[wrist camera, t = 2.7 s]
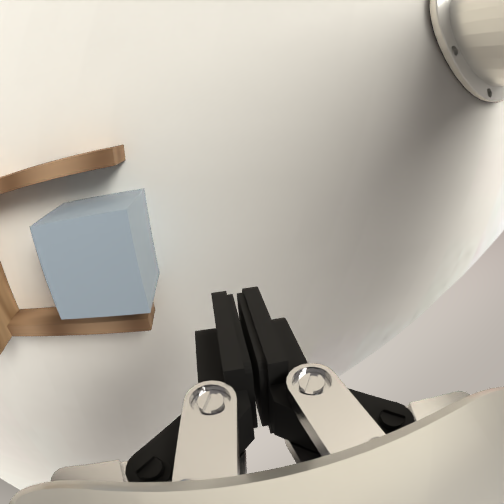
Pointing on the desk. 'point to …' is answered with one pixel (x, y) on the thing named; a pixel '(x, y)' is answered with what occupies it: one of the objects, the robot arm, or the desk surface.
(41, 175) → the bay
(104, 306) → the blue-grey cube
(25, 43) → the desk surface
